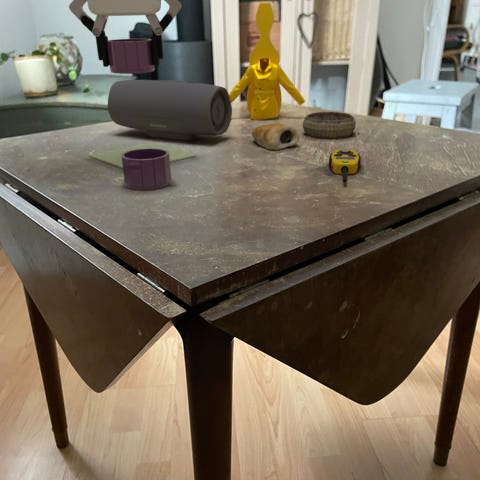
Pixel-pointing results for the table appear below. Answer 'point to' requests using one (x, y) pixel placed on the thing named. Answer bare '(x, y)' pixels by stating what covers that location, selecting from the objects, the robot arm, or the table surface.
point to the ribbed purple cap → (146, 169)
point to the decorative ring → (329, 125)
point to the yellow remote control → (344, 162)
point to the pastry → (275, 136)
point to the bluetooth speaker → (170, 108)
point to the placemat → (115, 155)
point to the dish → (130, 56)
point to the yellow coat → (264, 73)
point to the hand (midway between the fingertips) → (131, 64)
